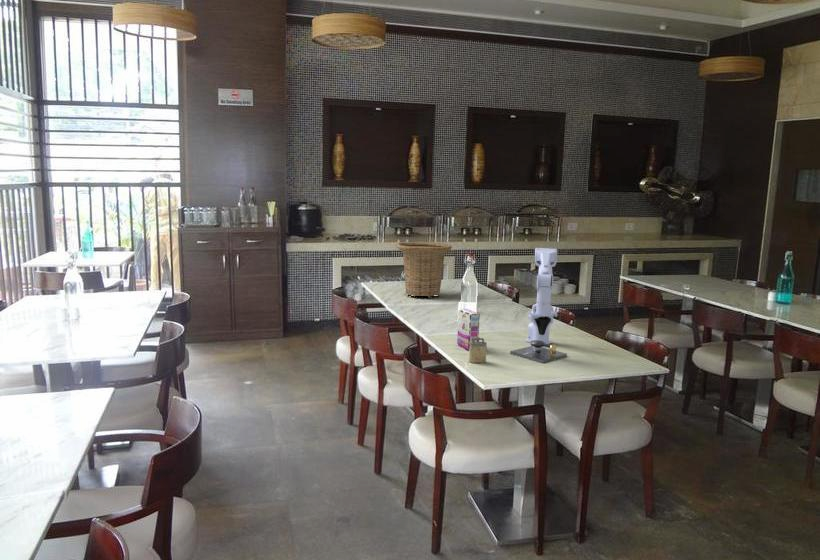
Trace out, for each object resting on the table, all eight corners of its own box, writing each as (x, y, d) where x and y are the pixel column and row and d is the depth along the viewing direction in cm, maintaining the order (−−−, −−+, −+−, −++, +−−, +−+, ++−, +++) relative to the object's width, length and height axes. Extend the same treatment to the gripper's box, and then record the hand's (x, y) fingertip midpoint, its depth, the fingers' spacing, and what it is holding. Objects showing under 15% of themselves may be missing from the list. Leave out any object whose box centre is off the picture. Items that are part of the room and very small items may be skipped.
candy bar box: (478, 350, 270) (480, 313, 267) (468, 351, 268) (470, 314, 265) (466, 344, 280) (468, 308, 277) (456, 344, 278) (458, 309, 275)
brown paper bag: (484, 360, 254) (485, 336, 253) (487, 363, 250) (488, 339, 249) (467, 360, 253) (468, 337, 252) (470, 363, 249) (471, 339, 248)
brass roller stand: (527, 349, 266) (527, 341, 265) (534, 347, 270) (535, 339, 269) (551, 355, 258) (552, 347, 257) (558, 352, 262) (559, 344, 262)
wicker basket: (425, 303, 372) (427, 248, 367) (384, 295, 395) (385, 243, 390) (460, 296, 398) (462, 245, 393) (419, 289, 421) (421, 240, 416)
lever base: (510, 353, 265) (510, 345, 265) (534, 347, 276) (535, 340, 276) (542, 363, 252) (542, 354, 252) (566, 356, 264) (567, 348, 263)
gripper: (537, 305, 250) (535, 338, 253) (563, 303, 258) (561, 334, 260) (525, 302, 256) (523, 334, 259) (551, 300, 264) (549, 331, 266)
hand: (541, 334), depth 260 cm, fingers closed
